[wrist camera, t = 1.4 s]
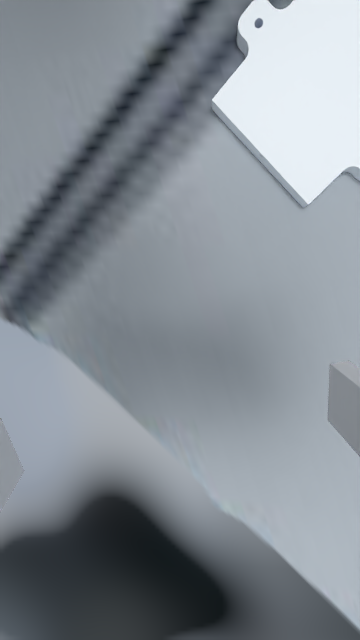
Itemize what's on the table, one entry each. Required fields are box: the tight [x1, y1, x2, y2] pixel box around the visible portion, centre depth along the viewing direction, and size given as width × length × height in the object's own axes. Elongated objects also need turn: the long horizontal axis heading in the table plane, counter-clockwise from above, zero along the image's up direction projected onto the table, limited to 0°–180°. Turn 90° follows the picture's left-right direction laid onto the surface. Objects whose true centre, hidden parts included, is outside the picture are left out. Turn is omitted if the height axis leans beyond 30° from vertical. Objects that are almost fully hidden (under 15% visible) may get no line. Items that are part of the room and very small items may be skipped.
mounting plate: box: [212, 0, 360, 207], centre depth 24 cm, size 18×13×2 cm
